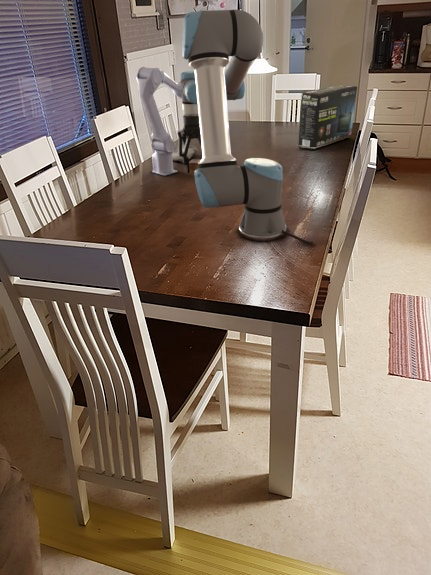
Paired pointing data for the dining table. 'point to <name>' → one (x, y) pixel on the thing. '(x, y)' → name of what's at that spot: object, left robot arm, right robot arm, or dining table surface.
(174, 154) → the fossil
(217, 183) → the right robot arm
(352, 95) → the router box
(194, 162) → the block
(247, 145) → the dining table surface
